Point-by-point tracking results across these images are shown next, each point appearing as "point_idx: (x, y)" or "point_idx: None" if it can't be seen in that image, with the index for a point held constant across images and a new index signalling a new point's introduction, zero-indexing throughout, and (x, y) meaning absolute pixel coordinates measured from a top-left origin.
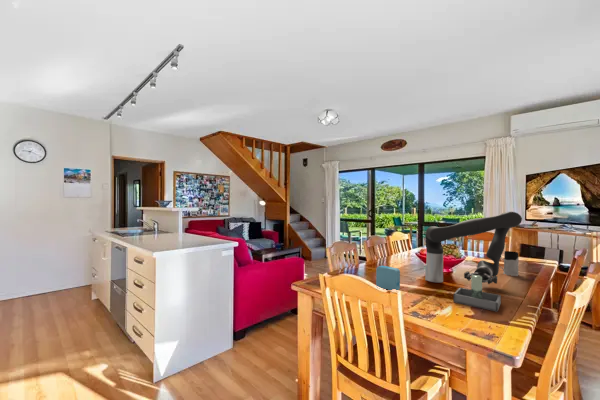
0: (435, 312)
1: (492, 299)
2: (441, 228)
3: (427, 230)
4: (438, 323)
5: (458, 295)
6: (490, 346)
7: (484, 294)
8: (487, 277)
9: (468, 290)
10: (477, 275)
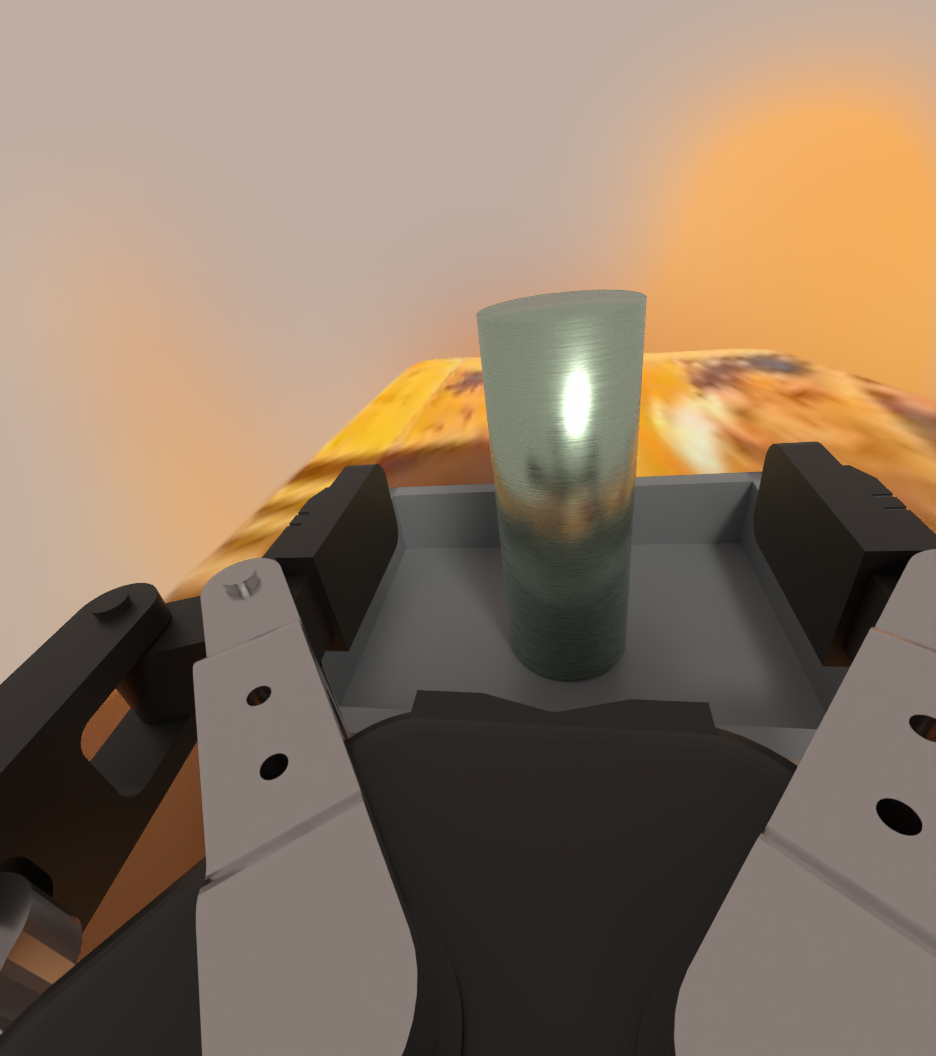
0: (719, 400)
1: None
2: None
3: None
4: (645, 363)
5: (713, 478)
6: (472, 359)
7: None
8: (315, 659)
9: (750, 736)
10: (556, 318)
